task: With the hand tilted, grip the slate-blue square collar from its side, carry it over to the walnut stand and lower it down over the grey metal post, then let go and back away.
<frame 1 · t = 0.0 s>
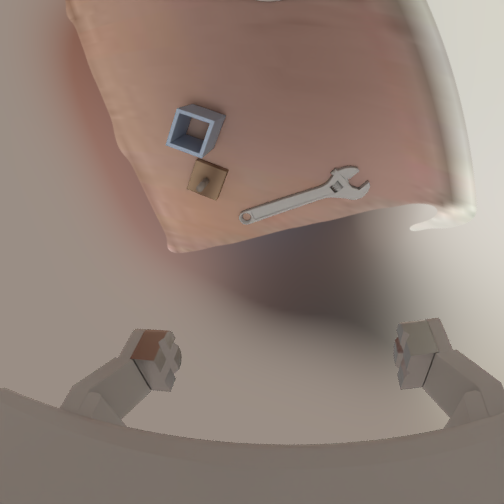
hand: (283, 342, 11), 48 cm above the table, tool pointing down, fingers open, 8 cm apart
collar: (203, 125, 53), on the table
post stand: (208, 178, 59), on the table
adjustable wrench: (302, 192, 58), on the table
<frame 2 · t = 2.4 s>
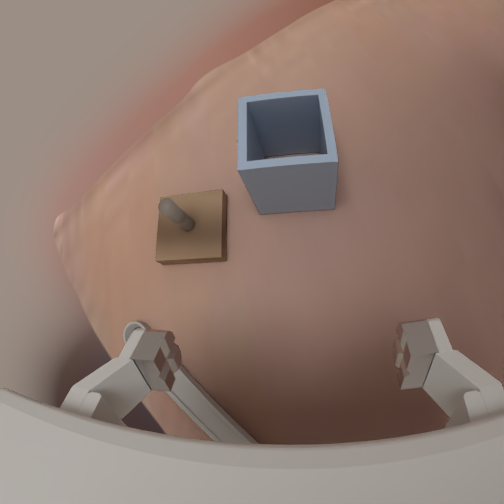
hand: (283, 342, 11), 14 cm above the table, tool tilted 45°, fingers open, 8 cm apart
collar: (294, 178, 28), on the table
post stand: (194, 230, 29), on the table
adjustable wrench: (236, 424, 24), on the table
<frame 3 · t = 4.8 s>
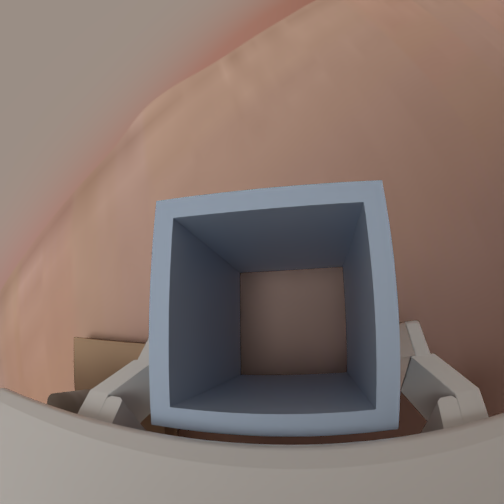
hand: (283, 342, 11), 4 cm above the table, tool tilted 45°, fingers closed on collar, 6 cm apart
collar: (292, 322, 15), on the table, touching gripper
post stand: (129, 392, 16), on the table
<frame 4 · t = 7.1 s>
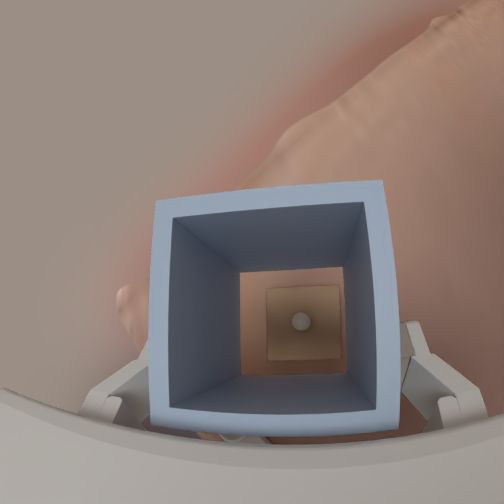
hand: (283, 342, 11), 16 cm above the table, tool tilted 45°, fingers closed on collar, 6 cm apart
collar: (292, 322, 15), point 12 cm above the table, touching gripper
post stand: (304, 323, 27), on the table
adjustable wrench: (329, 494, 22), on the table
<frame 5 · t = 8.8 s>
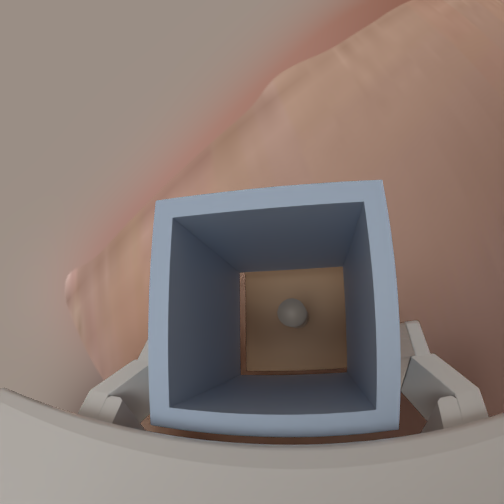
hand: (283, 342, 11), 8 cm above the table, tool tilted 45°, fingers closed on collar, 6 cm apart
collar: (292, 322, 15), point 4 cm above the table, touching gripper
post stand: (299, 318, 19), on the table
when the fingers open (6 cm above the table, at t = 9.9 s): collar stays where it is, resting on post stand.
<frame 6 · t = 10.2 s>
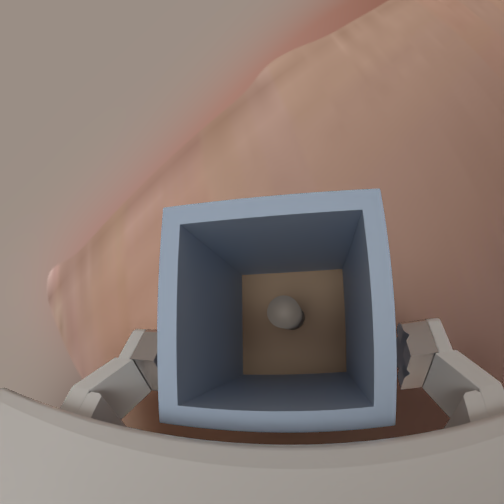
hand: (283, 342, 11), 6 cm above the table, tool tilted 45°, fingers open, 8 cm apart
collar: (293, 323, 16), point 1 cm above the table, touching post stand
post stand: (294, 319, 17), on the table
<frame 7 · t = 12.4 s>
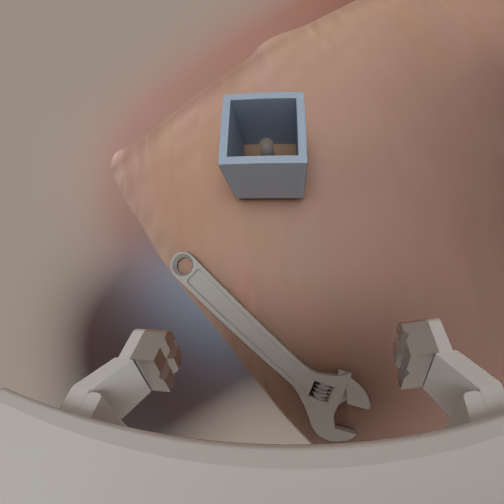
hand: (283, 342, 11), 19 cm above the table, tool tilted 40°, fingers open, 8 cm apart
collar: (269, 167, 31), point 1 cm above the table, touching post stand
post stand: (270, 170, 32), on the table
adjustable wrench: (275, 342, 30), on the table
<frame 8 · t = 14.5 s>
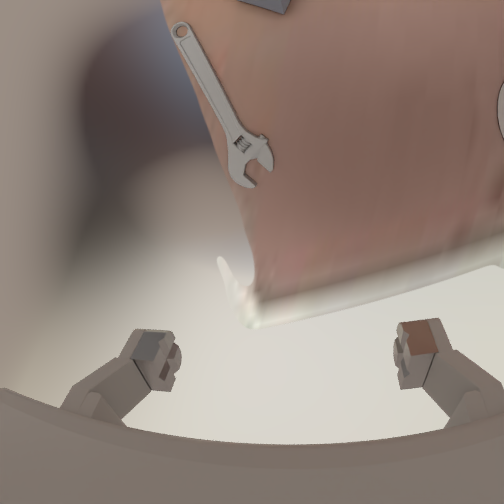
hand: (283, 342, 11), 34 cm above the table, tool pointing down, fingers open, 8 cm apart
adjustable wrench: (226, 99, 39), on the table
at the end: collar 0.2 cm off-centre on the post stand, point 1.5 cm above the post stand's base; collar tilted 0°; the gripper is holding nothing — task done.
